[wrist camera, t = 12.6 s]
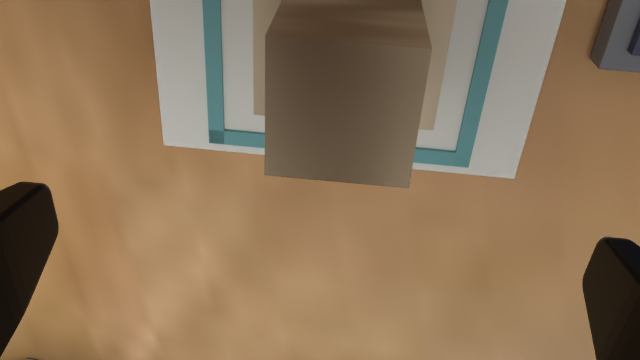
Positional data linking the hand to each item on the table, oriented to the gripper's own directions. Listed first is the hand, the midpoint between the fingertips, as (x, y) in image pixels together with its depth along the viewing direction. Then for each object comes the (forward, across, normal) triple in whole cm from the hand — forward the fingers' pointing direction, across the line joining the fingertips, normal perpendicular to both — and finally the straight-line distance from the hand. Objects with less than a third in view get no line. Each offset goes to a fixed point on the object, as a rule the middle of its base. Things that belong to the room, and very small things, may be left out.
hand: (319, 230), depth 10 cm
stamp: (+12, 0, 0) cm, 12 cm away
